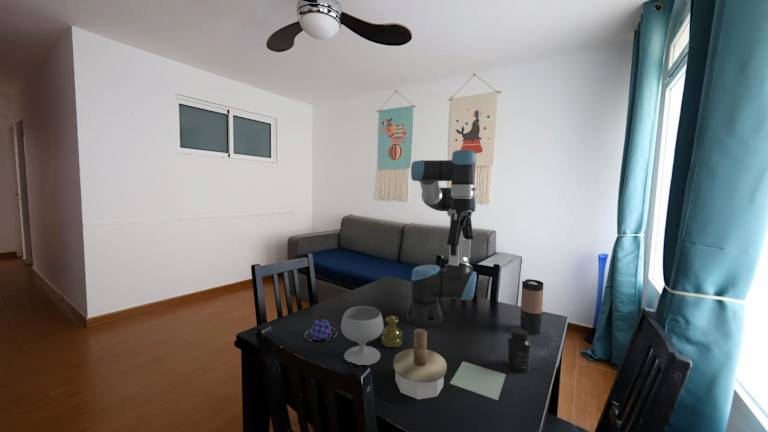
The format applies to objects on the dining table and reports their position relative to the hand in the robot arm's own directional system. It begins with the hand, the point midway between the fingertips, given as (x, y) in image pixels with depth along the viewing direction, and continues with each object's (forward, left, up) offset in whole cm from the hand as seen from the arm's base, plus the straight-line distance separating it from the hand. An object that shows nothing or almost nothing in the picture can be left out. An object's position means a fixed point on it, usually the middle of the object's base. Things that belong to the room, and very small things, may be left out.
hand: (460, 261), depth 99 cm
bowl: (-4, -23, -32) cm, 39 cm away
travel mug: (+20, +31, -32) cm, 49 cm away
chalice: (-26, -20, -32) cm, 46 cm away
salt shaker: (-22, -7, -32) cm, 39 cm away
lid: (-4, -23, -26) cm, 35 cm away
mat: (+10, -12, -32) cm, 35 cm away
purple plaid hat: (-48, -16, -32) cm, 60 cm away
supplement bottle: (+19, +1, -32) cm, 37 cm away
